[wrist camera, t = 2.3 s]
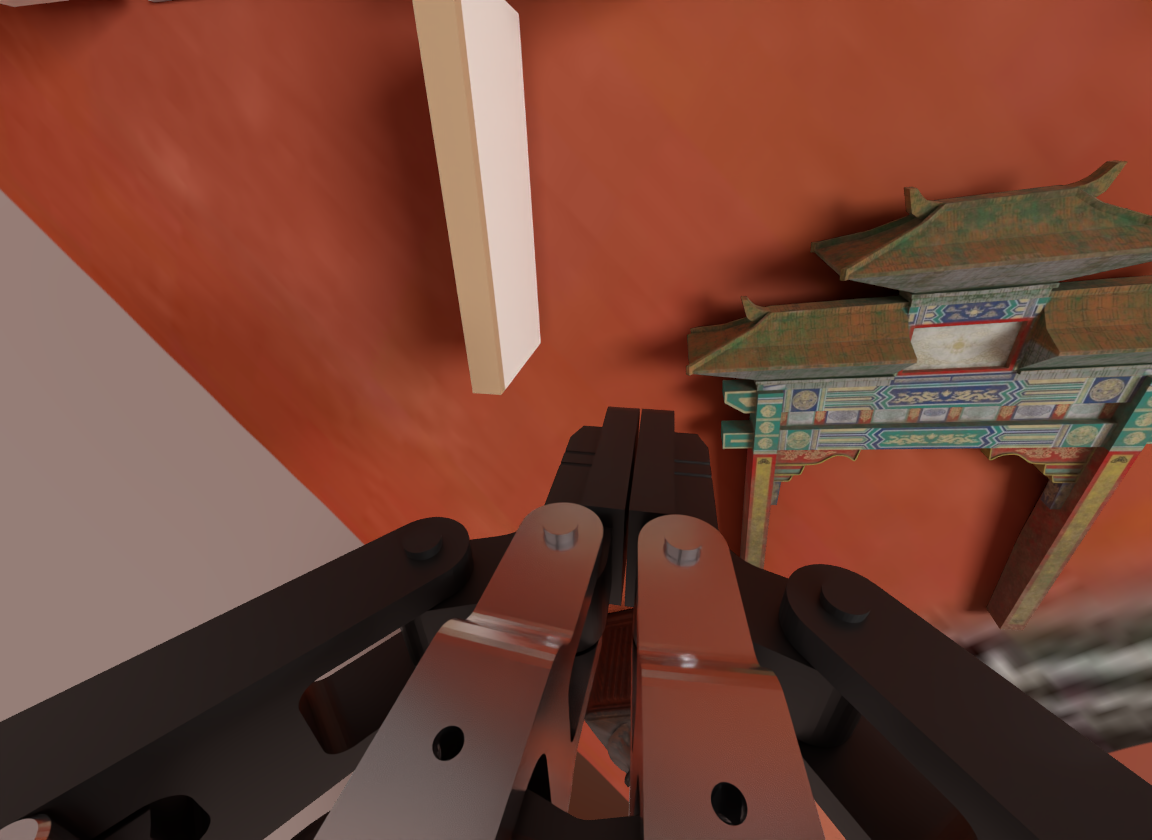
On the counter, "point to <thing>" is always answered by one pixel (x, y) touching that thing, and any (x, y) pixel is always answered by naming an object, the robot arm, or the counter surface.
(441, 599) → the robot arm
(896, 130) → the counter surface
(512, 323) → the white flat block
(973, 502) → the counter surface
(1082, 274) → the miniature gate
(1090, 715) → the counter surface
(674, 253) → the counter surface
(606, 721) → the manual coffee grinder
